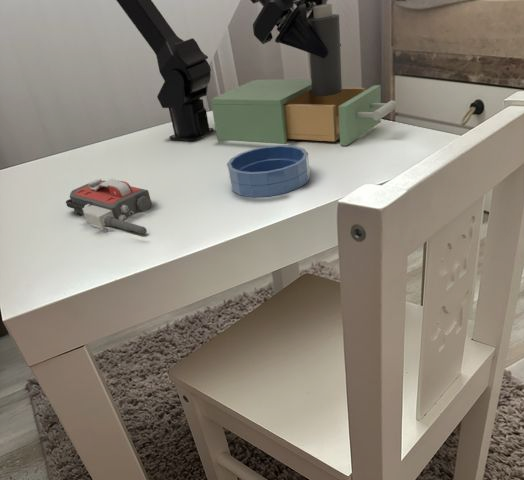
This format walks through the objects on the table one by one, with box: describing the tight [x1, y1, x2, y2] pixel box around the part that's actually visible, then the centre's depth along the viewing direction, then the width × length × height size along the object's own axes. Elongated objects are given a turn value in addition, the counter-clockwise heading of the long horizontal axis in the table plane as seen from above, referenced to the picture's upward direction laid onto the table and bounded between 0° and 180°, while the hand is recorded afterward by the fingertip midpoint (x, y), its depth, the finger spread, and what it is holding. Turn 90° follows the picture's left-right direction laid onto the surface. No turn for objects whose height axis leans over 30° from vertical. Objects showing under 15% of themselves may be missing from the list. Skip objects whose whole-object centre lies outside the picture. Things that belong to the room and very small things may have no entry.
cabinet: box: [209, 78, 312, 145], centre depth 94 cm, size 15×14×8 cm
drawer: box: [283, 84, 397, 147], centre depth 87 cm, size 18×12×6 cm
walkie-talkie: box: [65, 178, 153, 234], centre depth 72 cm, size 9×4×20 cm
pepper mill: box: [307, 3, 343, 96], centre depth 82 cm, size 5×5×12 cm
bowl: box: [226, 144, 311, 198], centre depth 74 cm, size 11×11×4 cm
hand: (333, 52), depth 82 cm, fingers closed on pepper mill, 5 cm apart
